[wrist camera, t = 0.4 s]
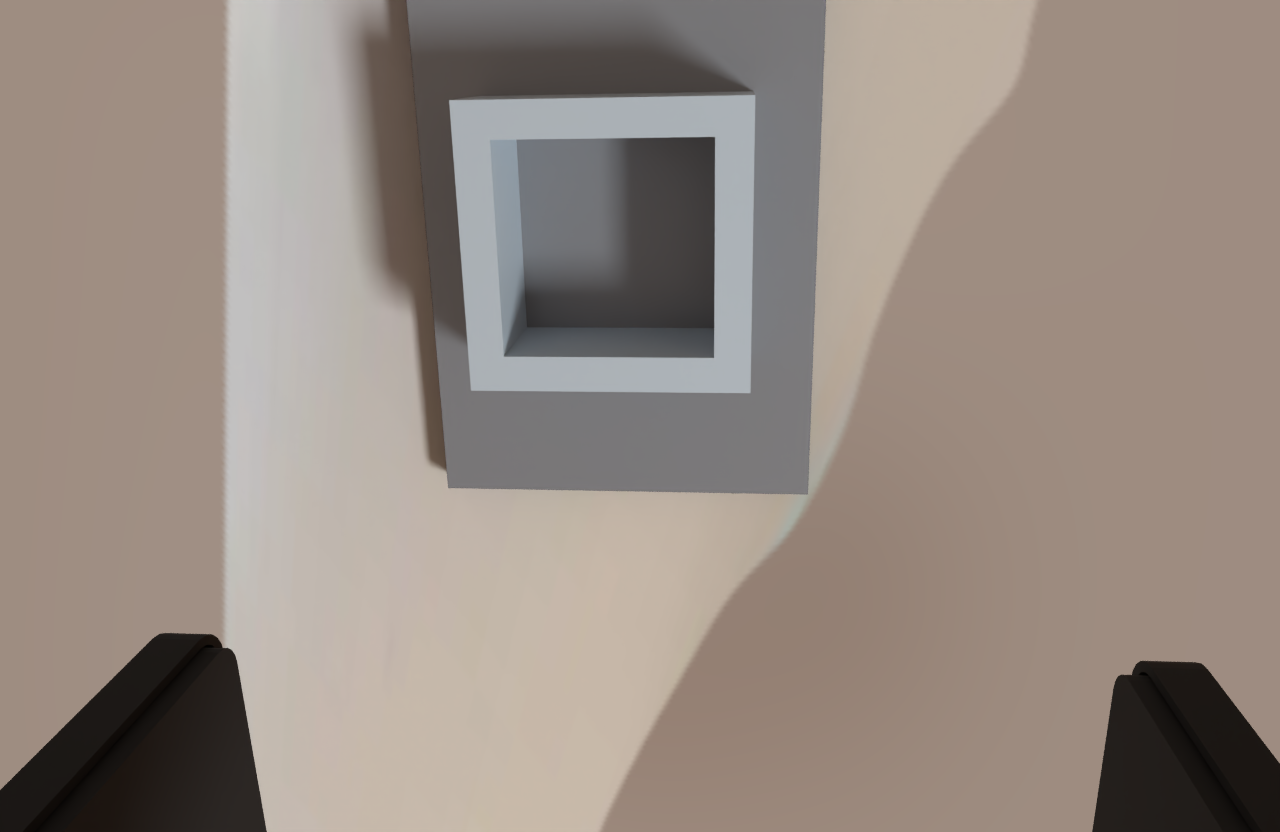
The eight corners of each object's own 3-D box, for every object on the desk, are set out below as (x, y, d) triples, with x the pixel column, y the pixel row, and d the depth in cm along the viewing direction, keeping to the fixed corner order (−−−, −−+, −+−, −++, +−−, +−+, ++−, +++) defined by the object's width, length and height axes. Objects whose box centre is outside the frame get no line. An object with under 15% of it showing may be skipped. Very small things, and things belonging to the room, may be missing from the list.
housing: (411, -67, 35) (358, -87, 30) (825, -80, 34) (840, -104, 29) (456, 476, 42) (418, 531, 37) (806, 482, 40) (814, 540, 36)
